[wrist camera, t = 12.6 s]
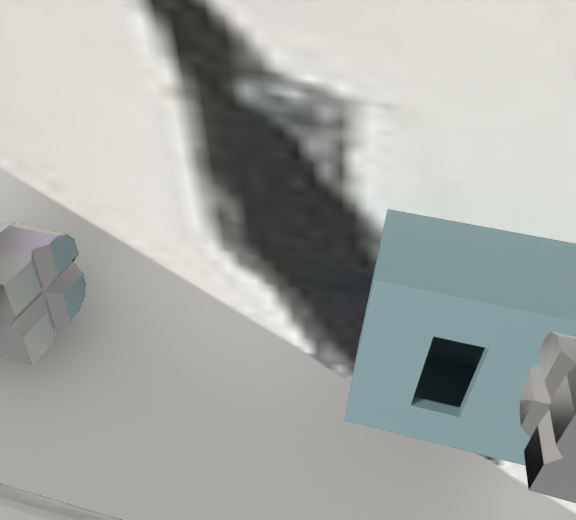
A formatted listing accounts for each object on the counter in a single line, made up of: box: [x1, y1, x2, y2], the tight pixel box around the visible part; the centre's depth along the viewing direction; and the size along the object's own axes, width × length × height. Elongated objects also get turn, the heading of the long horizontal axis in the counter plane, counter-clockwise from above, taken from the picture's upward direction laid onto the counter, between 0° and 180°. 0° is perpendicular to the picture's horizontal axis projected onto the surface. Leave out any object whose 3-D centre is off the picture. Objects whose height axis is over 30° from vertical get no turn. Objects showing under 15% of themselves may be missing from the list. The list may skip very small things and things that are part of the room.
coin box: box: [344, 210, 576, 466], centre depth 44 cm, size 20×16×10 cm
